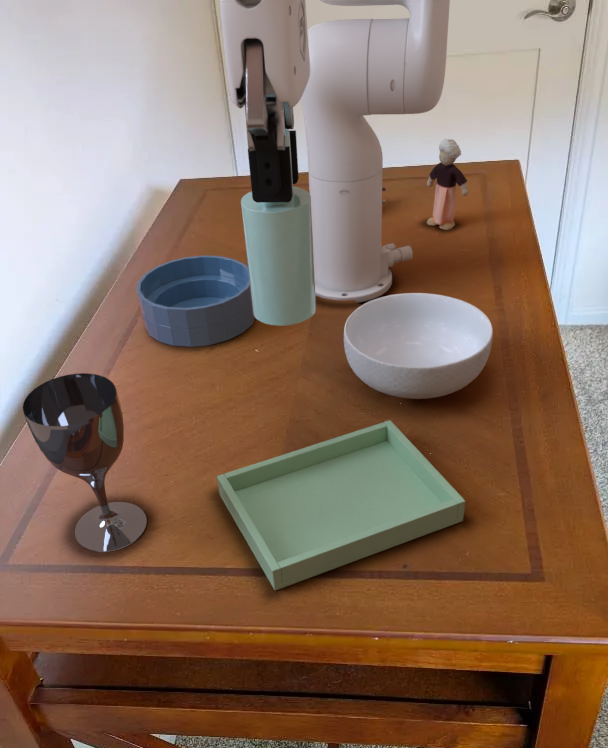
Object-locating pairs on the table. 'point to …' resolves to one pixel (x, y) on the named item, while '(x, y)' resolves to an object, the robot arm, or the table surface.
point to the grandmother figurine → (446, 185)
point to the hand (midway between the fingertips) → (276, 189)
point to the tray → (337, 502)
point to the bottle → (280, 257)
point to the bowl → (196, 300)
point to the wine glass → (86, 450)
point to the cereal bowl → (417, 344)
